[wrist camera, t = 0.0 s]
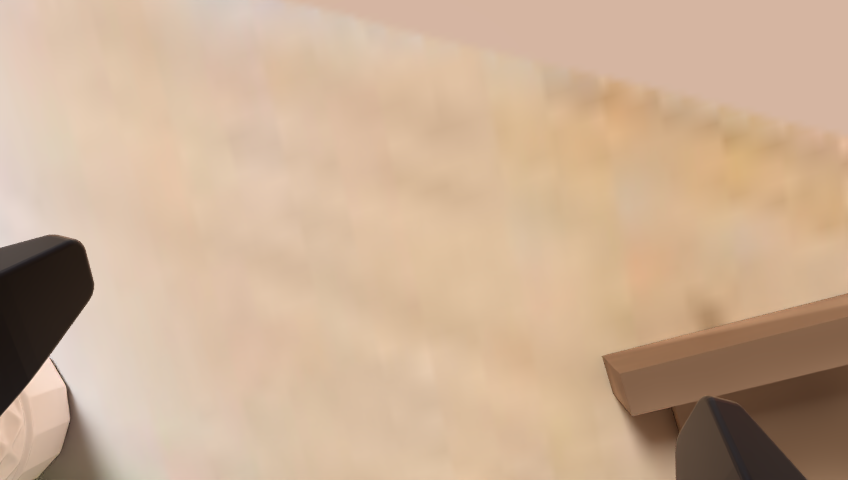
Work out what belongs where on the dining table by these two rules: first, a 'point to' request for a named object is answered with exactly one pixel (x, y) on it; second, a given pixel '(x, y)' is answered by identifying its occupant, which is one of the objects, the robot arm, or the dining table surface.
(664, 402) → the rest
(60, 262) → the robot arm
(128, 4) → the dining table surface
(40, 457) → the white cup
